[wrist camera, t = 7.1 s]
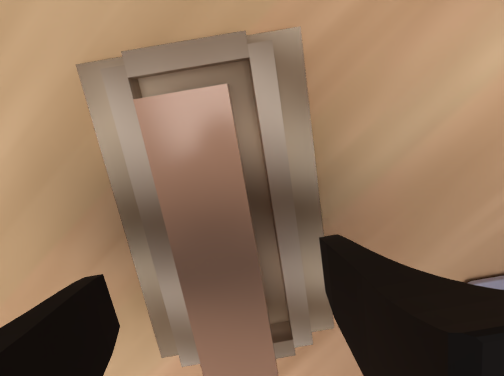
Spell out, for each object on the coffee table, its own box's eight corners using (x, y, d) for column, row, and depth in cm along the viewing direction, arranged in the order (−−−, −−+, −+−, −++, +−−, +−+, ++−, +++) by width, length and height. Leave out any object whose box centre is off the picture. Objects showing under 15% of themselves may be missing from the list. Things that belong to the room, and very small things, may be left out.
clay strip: (268, 307, 19) (279, 381, 14) (214, 316, 19) (208, 394, 14) (229, 84, 16) (226, 83, 11) (163, 95, 16) (132, 99, 11)
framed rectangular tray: (329, 316, 21) (341, 347, 18) (165, 345, 21) (156, 379, 18) (296, 29, 16) (307, 20, 14) (85, 65, 16) (59, 62, 14)
